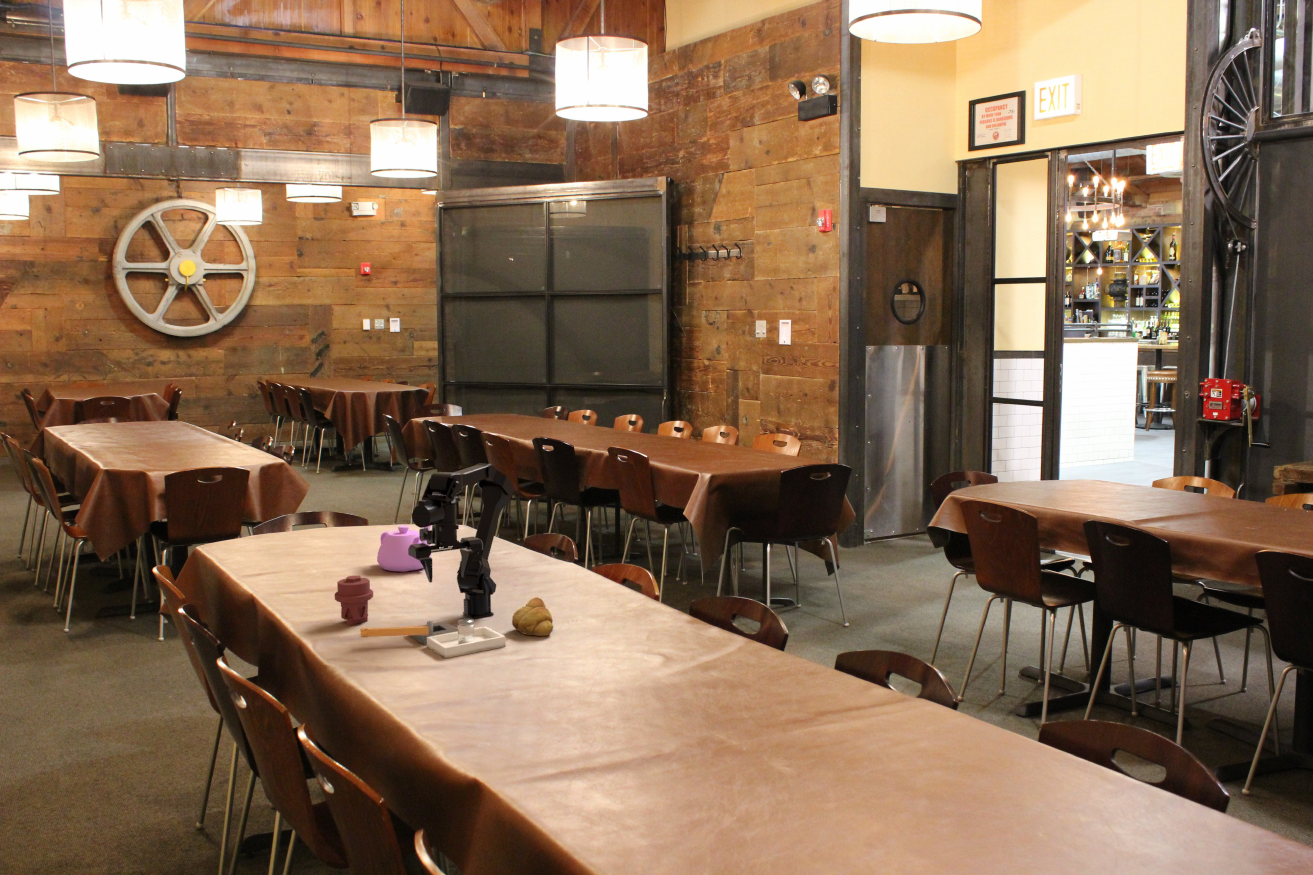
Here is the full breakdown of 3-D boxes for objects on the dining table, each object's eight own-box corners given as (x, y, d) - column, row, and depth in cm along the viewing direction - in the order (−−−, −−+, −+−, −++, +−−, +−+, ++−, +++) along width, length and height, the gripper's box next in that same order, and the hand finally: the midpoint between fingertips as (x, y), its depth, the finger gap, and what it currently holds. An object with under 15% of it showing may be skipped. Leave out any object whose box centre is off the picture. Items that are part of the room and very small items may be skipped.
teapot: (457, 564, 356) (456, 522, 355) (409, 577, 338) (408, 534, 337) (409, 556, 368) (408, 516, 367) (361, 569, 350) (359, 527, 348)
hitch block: (444, 628, 282) (444, 621, 282) (460, 637, 274) (460, 630, 274) (408, 635, 277) (408, 627, 276) (423, 644, 269) (423, 637, 268)
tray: (485, 635, 276) (485, 626, 276) (505, 646, 267) (505, 636, 267) (427, 646, 267) (426, 637, 267) (445, 658, 258) (445, 648, 258)
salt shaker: (470, 640, 270) (469, 617, 269) (477, 644, 266) (476, 621, 266) (455, 643, 267) (454, 620, 267) (462, 647, 264) (461, 623, 264)
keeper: (361, 635, 269) (360, 623, 268) (433, 632, 271) (433, 620, 271) (360, 637, 267) (359, 625, 266) (432, 635, 269) (432, 622, 269)
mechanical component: (380, 617, 293) (363, 628, 283) (346, 615, 295) (328, 626, 285) (379, 573, 292) (361, 582, 282) (345, 571, 294) (326, 580, 284)
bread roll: (561, 636, 276) (560, 605, 275) (525, 641, 271) (525, 610, 270) (541, 623, 287) (540, 594, 286) (507, 629, 282) (506, 599, 281)
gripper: (465, 512, 292) (466, 569, 293) (399, 520, 281) (401, 578, 283) (483, 518, 283) (484, 576, 284) (415, 526, 272) (417, 587, 274)
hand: (446, 579), depth 281 cm, fingers open, 9 cm apart
